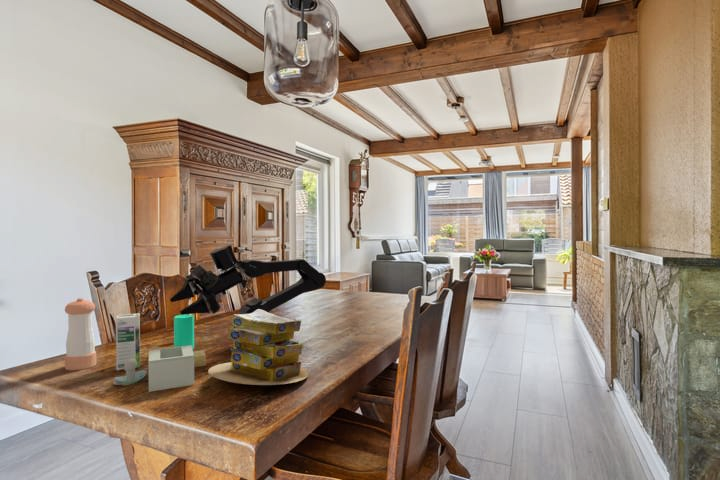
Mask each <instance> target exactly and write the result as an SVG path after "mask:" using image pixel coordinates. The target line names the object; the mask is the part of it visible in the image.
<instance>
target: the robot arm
mask: <svg viewBox="0 0 720 480" xmlns="http://www.w3.org/2000/svg"><path fill="white" fill-rule="evenodd" d="M209 255H210V257H211V260H212V262H213V263H214V266H215V268H216V270H220V271H221V273H219V274H215V273H214V272H213V271H211V270H208V271H207V270H206V269H205V268H204V267H202V266H201V265H200V264H198V265H197V266H196V267H195V268H194V269H192V270H191V273H190V274H188V275H186V276H185V279H184V280H183V281H184V282H183V286H182V287H181V288H180V289H179V290H178V291H177V292H175V294H173V296H171V297H170V299H169V300H170V302H171V303H174V302H175V303H176V302H179V301H183V300H188V299H192V298H195V297H196V296H198V297H197V298H196V300H195V301H194V302H192V303H190V304H189V305H187V306H185V307H184V308H183V309H181V310H180V311H179V314H180V315H184V314H186V315H194V314H208V315H209V314H212V315H214V314H217V313H218V312H220V310H221V305H220V302H219V300H218V296H219V295H223V296H225V295H227V291H229V290H230V289H232V288H234V287H236V286H238V285H239V287H240V288H242V289H246V287H247V283H248V280H247V279H244V278H245V277H246V278H253V279H254V278H258V277H261V276H265V275H267V274H271V273H279V272H280V273H281V272H283V273H284V272H292V271H293V272H294V271H296V272H297V273H298V275H299V276H300V278H299V280H298V281H297V282H295V283H294V284H291V285H288V286H287V287H286V288H284V289H281V290H280V291H278V292H276V293H274V294H272V295H270V296H268V297H266V298H264V299H260V298H257V297H254V298H252V299H250V300H249V301H247V302H244V305H242V306H241V307H240V309H239V312H238V315H239V314H247V313H248V314H249V313H253V312H254V311H256V310H257V309H262V310H264V311H266V312H268V313H271V311H272V310H275V309H276V308H278V307H280V306H282V305H284V304H286V303H287V302H289V301H291V300H293V299H295V298H296V297H298V296H301V295H302V294H304V293H308V292H312V291H313V292H314V291H317V290H319V289H322V288H323V287H325V286H326V281H327V277H326V276H325V274H324V273H322V272H319V271H318V270H317V268H315V267H313V266H312V265H311V264H310V263H309V262H308V261H307V260H305V259H304V258H303V259H302V258H296V259H285V260H284V259H283V260H273V261H271V260H270V261H264V260H257V259H243V260H242V259H241V260H240V259H237V258H236V256H235V253H234V251H233V247H232V245H226V246H223V247H220V248H219V247H218V248H215V249H213V250H212V251H211V252H209ZM238 270H239V271H238ZM244 276H245V277H244Z"/></svg>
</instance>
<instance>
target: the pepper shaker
mask: <svg viewBox="0 0 720 480" xmlns="http://www.w3.org/2000/svg"><path fill="white" fill-rule="evenodd" d="M95 309H96V305H95V303H94V302H93V301H90V300H85V299H84V298H82V297H80V298H79V297H78V298H77V299H76V301H75V300H74V301H71V302H69V303H67V305H65V307H64V312H65V313H66V314H68V320H67V323H68V326H67V327H68V330H67V336H66V340H65V341H66V342H65V346H66V347H65V350H66V354H65V355H64V369H65V371H80V370H84V369H85V370H86V369H89V368H93V367H94V366H96V365H97V351H96V350H95V346H96V345H95V344H96V343H95V341H96V339H95V334H94V330H93V312H95Z"/></svg>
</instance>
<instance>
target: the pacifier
mask: <svg viewBox="0 0 720 480" xmlns="http://www.w3.org/2000/svg"><path fill="white" fill-rule="evenodd" d="M136 367H137V361H136V360H135V359H130V360H128V361H127V362H126V363H125V365H124V369H123V370H124V371H125V375H123V376H119V377H118V376H117V377H114V378H113V379H114V381H113V382H112V384H113V385H115V386H130V385H134V384H136V383H138V382H139V381H141V380H143V379H144V378H145V377H146V375H147V370H145V369H142V370H138V371H136Z"/></svg>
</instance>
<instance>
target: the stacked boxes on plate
mask: <svg viewBox="0 0 720 480" xmlns="http://www.w3.org/2000/svg"><path fill="white" fill-rule="evenodd" d="M301 323H302V320H300V319H296V318H291V317H290V318H289V317H284V316H279V315H276V314H273V313H271V312H269V313H268V312H266V311H264V310H262V309H257V310H256V311H254V312H253V313H249V314H248V313H247V314H239V313H238V314H235V313H234V314H233V315H232V317H231V324H230V325H231V327H229V328H228V332H227V340H229V341H233V348H232V347H229V349H230V351H231V353H230V354H231V355H230V362H224V363H218V364H217V365H213V366H211V367H210V368H209V369H207V370H208V372H207V373H208V375H210V376H212V377H213V378H215V379H219V380H222V381H225V382H229V383H234V384H242V385H251V386H252V385H253V386H254V385H257V386H272V385H273V386H276V385H286V384H292V383H297V382H300V381H303V380H305V379H306V378H308V376H309V372H308V371H307V370H305V368H301V366H302V362H301V361H299V360H300V355H302V352H303V346H304V344H303V343H301V342H298V341H294V340H293V339H294V335H295V332H300V329H301ZM292 340H293V341H292Z"/></svg>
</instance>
